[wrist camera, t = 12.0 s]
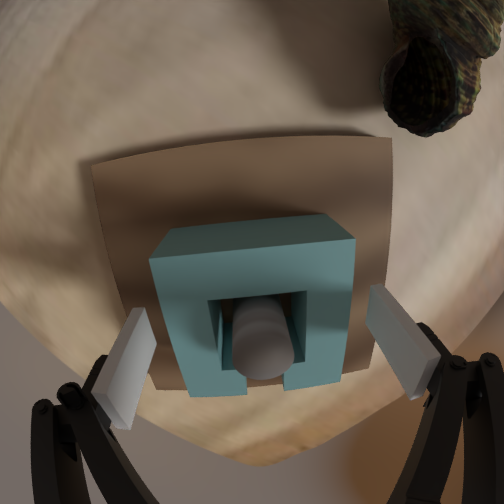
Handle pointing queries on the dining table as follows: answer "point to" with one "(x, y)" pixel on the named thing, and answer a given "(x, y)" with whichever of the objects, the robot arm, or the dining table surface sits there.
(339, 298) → the teal slotted block
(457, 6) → the seashell
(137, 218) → the post block
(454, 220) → the dining table surface
